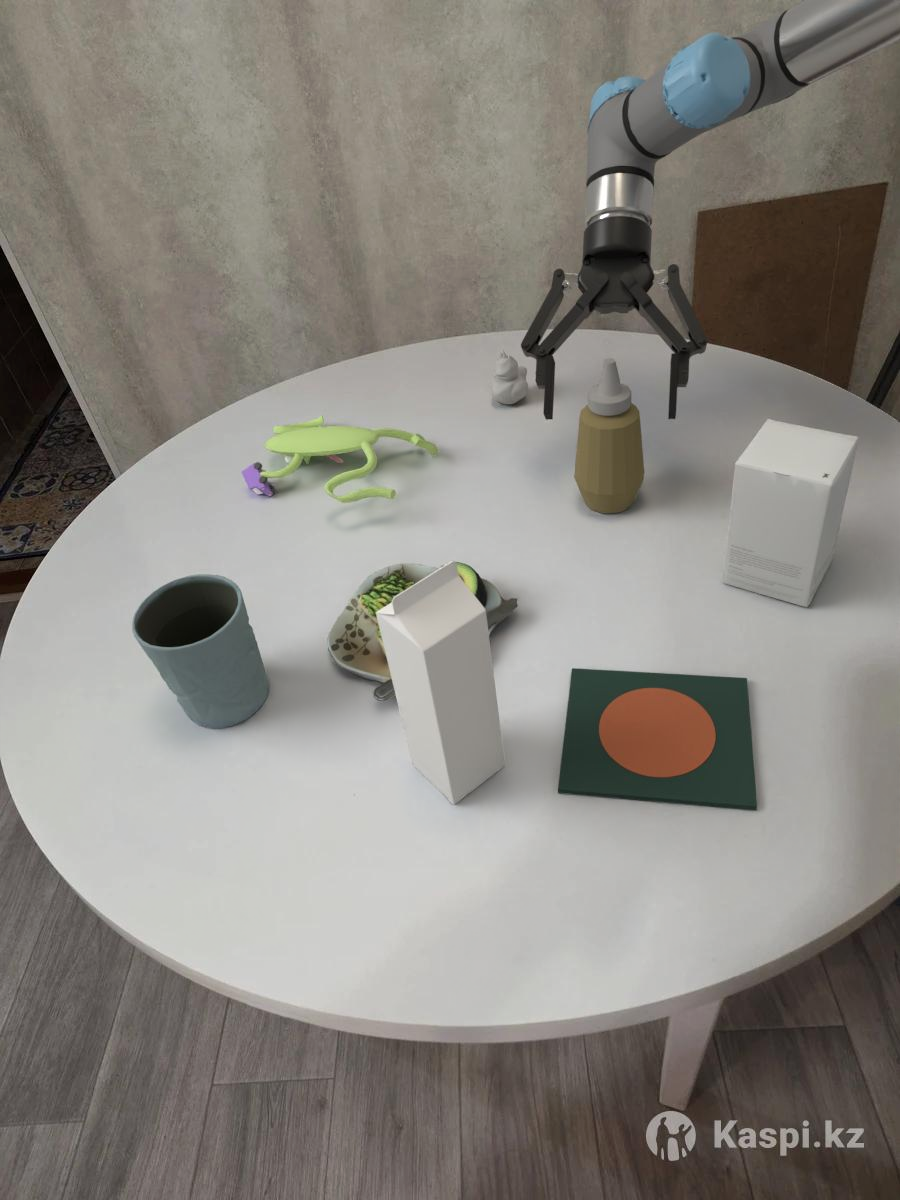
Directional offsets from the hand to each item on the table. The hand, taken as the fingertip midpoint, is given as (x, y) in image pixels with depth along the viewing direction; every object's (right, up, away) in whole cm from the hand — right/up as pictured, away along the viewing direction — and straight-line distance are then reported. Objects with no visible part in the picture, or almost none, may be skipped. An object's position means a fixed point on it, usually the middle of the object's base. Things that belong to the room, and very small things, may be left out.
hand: (609, 416), depth 96 cm
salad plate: (-21, -24, -6) cm, 32 cm away
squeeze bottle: (+1, -9, +7) cm, 11 cm away
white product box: (+17, -18, -6) cm, 25 cm away
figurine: (-32, -4, +18) cm, 37 cm away
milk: (-17, -35, -19) cm, 44 cm away
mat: (+1, -32, -20) cm, 38 cm away
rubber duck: (-9, +8, +27) cm, 30 cm away
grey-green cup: (-40, -30, -10) cm, 51 cm away
